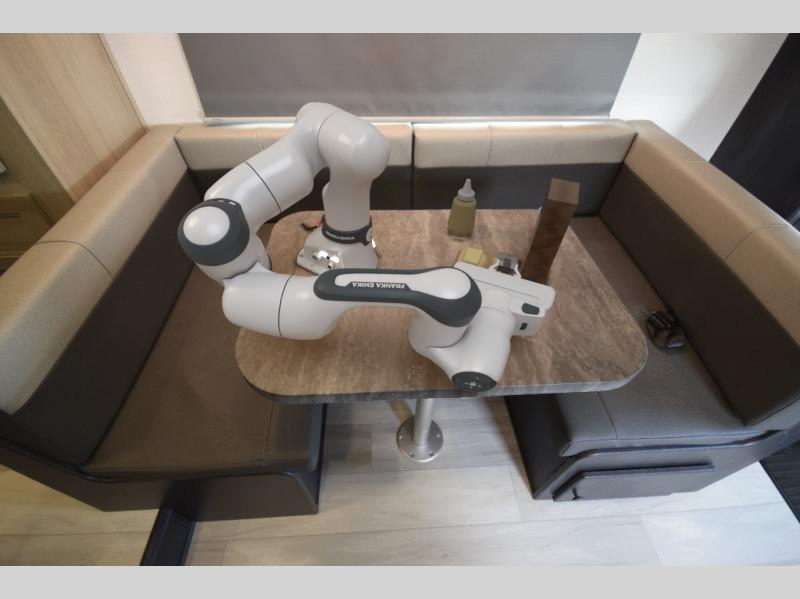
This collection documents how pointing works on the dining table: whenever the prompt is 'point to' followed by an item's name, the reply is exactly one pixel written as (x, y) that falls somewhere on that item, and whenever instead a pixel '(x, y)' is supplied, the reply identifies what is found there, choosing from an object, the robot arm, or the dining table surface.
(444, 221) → the dining table surface
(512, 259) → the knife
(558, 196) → the stand
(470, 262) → the butter
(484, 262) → the board
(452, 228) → the squeeze bottle
